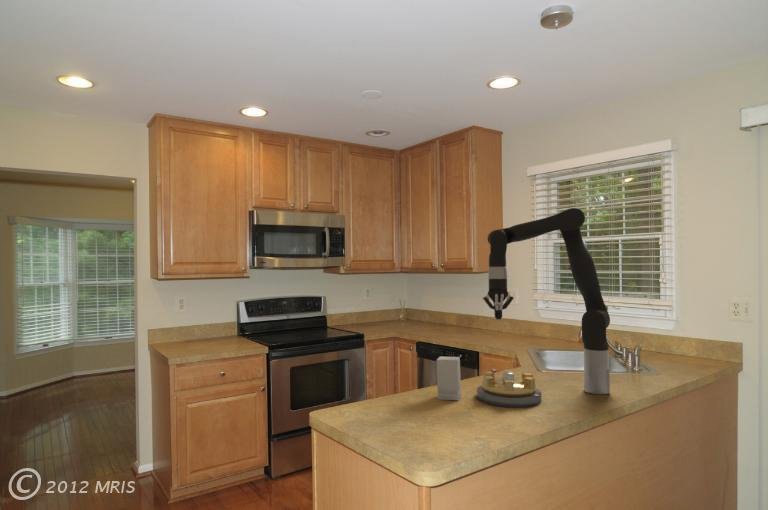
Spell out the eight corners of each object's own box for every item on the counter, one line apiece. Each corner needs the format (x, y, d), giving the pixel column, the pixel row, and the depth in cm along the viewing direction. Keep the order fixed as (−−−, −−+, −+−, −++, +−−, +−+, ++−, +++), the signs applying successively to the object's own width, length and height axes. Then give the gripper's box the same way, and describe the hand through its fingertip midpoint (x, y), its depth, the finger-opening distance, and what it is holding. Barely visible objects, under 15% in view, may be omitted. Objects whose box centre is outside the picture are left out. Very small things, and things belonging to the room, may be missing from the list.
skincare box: (461, 396, 195) (461, 356, 195) (458, 401, 188) (457, 360, 189) (440, 395, 197) (440, 355, 198) (436, 399, 191) (436, 358, 191)
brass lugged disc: (498, 381, 206) (498, 365, 206) (544, 389, 193) (544, 372, 193) (472, 390, 191) (472, 373, 191) (520, 400, 178) (520, 382, 178)
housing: (541, 392, 200) (541, 384, 200) (541, 410, 177) (541, 401, 177) (480, 388, 207) (480, 380, 207) (473, 404, 184) (472, 395, 184)
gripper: (510, 277, 212) (511, 317, 212) (479, 277, 212) (480, 318, 211) (516, 277, 205) (516, 320, 205) (484, 278, 204) (485, 320, 204)
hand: (498, 319), depth 208 cm, fingers closed
